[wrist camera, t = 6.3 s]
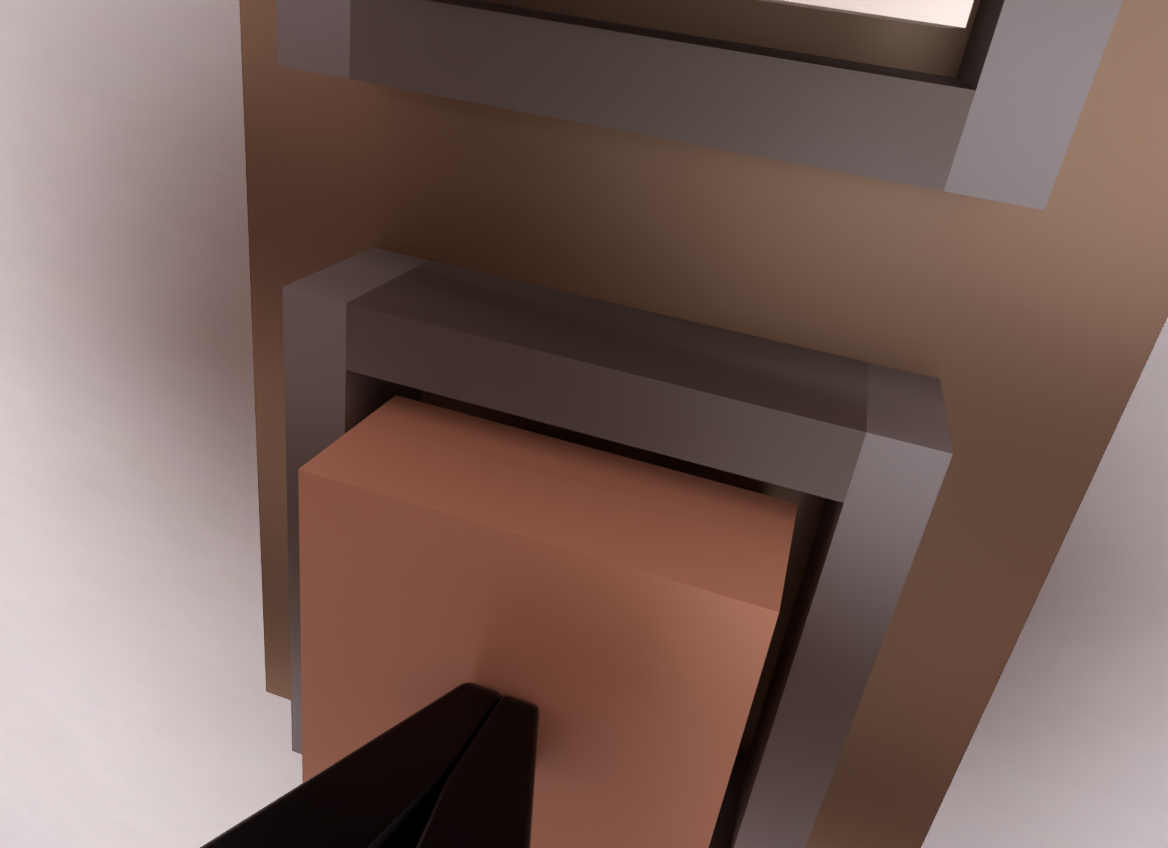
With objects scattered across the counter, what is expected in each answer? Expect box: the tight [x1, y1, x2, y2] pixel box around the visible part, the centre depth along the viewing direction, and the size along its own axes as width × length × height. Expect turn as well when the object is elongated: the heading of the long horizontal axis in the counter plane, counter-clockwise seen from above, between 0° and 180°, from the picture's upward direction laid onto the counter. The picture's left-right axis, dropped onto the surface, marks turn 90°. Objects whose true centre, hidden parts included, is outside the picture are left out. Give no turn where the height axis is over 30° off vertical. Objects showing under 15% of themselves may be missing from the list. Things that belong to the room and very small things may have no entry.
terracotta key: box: [298, 395, 798, 848], centre depth 10 cm, size 5×5×2 cm
